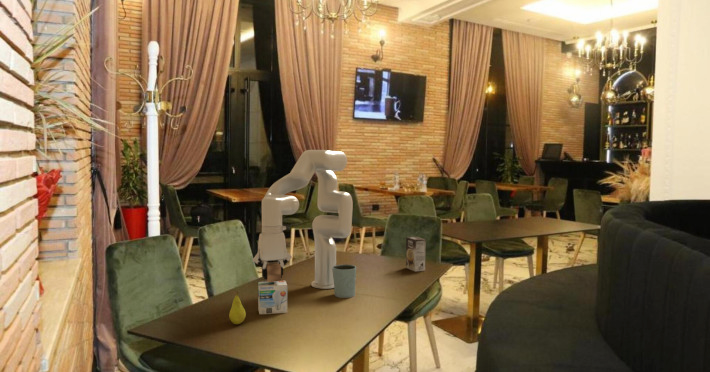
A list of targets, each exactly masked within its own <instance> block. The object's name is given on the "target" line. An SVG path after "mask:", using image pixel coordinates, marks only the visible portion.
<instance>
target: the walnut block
mask: <svg viewBox="0 0 710 372" xmlns="http://www.w3.org/2000/svg"><path fill="white" fill-rule="evenodd" d="M266 269H267V280H265V282H275V281H282V278H281V265H280V264H279V262H278V261H274V262H272V261H271V262H267V265H266Z"/></svg>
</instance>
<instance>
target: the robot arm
mask: <svg viewBox="0 0 710 372" xmlns="http://www.w3.org/2000/svg"><path fill="white" fill-rule="evenodd" d="M347 165H348V157H347V155H346V153H344V152H343V151H341V150H327V149H307V150H305V151H303V152H302V153H301V155H300V157H299V158H298V159H297V161H296V163H295V164H294V166H293V168H292V169H291V170H290V173H288V174H286V175H284V176H283V177H281V178H279V179H277V180H276V181H275V182H273V184H272V185H271V186H270V187H269V188H268V189H267V191H266V193H265V194H264V197H263V198H262V199H261V233H259V236H258V243H257V253H256V254H255V255H254V257H253V259H252V261H253V262H254V263H255V264H256V265H258V266H259V267H260V268H261V277H262V278H263V280H265V281H266V280H267V269H266V265H267V263H268V262H269V261H270V262H272V261H274V262H275V261H277V262H278V263H279V264H280V265H281V279H282V278H283V276H284V267H285V266H286V264H287V263H288V262H289V261H290V260H291V259H292V258H293V257H292V255H291V254H290V253H289V251H288V250H287V244H286V235H285V233H284V231H285V230H287V226H286V225H283V216H284V215H285V216H286V215H287V216H288V215H294V214H295V213H297V211H298V210H299V208H300V202H299V199H298V198H297V197H296V196H294V195H290V194H289V193H291V192H294V191H297V190H300V189H304V188H306V187H307V186H308V184H309V183H310V182H311V180H312V177H313V176H314V174H316V177H317V180H318V182H317V183H318V189H317V202H316V203H317V208H318V210H319V211H320V212H323V213H334V214H335V213H336V214H337V213H338V215H329V214H319V215H317V216H316V217H314V219H313V220H312V224H311V225H312V234H313V239H314V280H313V281H311V287H313V288H316V289H323V290H327V289H328V290H330V289H334V279H333V270H332V267H333V266H335V265H337V245H336V243H335V242H336V241H335V240H334V238H335V239H346V238H348V237H349V236H350V234H351V231H352V223H353V210H354V209H353V207H354V206H353V205H354V204H353V197H352V195H351V193H349V192H346V191H341V190H340V191H338V177H337V175H336V173H335V172H341V171H344V169H346V167H347Z"/></svg>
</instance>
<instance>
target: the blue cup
mask: <svg viewBox="0 0 710 372" xmlns="http://www.w3.org/2000/svg"><path fill="white" fill-rule="evenodd" d="M332 270H333V279H334V288H333V290H334V291H333V292H334V293H333V294H334V297H337V298H340V299H345V298H346V299H347V298H349V299H350V298H353V297H355V296H356V282H357V280H356V279H357V266H356V265H354V264H344V263H343V264H336V265H335V266H333V267H332Z"/></svg>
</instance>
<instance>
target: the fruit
mask: <svg viewBox="0 0 710 372" xmlns="http://www.w3.org/2000/svg"><path fill="white" fill-rule="evenodd" d="M238 294H239V291H237V292H236V295H235V296H234V298H233V299H232V300H233V301H232V304H231V308H230V310H229V315H228V316H229V320H230V321H231V323H232V324H234V325H241V324H242V323H243V322H244V320H245V319H246V315H247V313H246V309H245V308H244V306H243V304H242V302H241V299H240V297H239V295H238Z"/></svg>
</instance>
